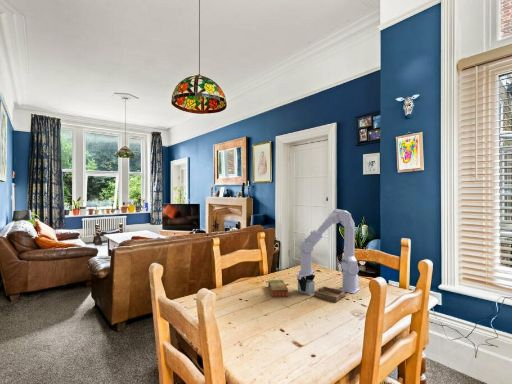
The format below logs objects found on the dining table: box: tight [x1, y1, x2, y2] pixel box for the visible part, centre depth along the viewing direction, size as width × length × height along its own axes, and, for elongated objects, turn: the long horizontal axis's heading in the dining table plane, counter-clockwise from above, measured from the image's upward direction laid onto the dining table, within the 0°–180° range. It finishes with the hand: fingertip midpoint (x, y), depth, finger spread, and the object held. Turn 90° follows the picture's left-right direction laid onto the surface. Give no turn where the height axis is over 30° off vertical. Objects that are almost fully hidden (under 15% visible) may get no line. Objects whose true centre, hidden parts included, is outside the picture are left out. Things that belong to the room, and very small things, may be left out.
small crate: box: [297, 280, 315, 296], centre depth 144 cm, size 5×7×6 cm
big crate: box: [313, 286, 346, 303], centre depth 139 cm, size 10×12×2 cm
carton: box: [267, 279, 289, 299], centre depth 146 cm, size 8×16×4 cm, turn 5°
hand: (306, 289), depth 144 cm, fingers closed on small crate, 5 cm apart
